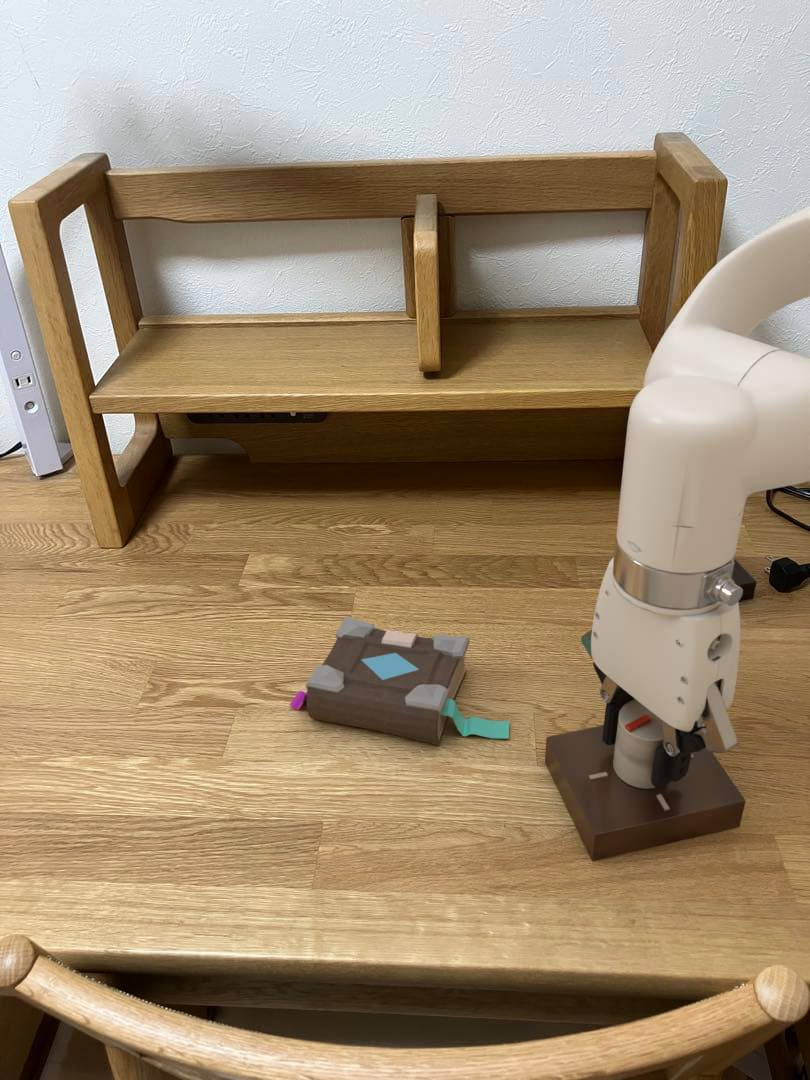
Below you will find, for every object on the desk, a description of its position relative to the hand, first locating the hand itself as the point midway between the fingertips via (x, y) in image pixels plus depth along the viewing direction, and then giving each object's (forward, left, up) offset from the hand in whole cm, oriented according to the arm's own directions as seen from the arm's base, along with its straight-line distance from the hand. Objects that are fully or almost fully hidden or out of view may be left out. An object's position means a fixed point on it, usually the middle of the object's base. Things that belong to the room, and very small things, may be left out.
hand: (643, 755), depth 69 cm
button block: (-17, -24, -4) cm, 30 cm away
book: (+15, -16, -5) cm, 22 cm away
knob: (0, 0, -1) cm, 1 cm away
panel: (0, 0, -4) cm, 4 cm away
